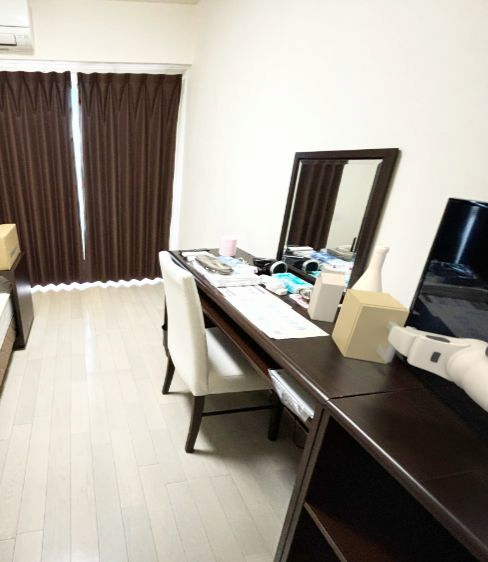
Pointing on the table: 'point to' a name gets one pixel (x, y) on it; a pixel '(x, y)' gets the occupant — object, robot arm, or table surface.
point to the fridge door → (374, 333)
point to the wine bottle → (373, 272)
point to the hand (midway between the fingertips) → (434, 335)
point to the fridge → (351, 311)
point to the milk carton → (326, 295)
